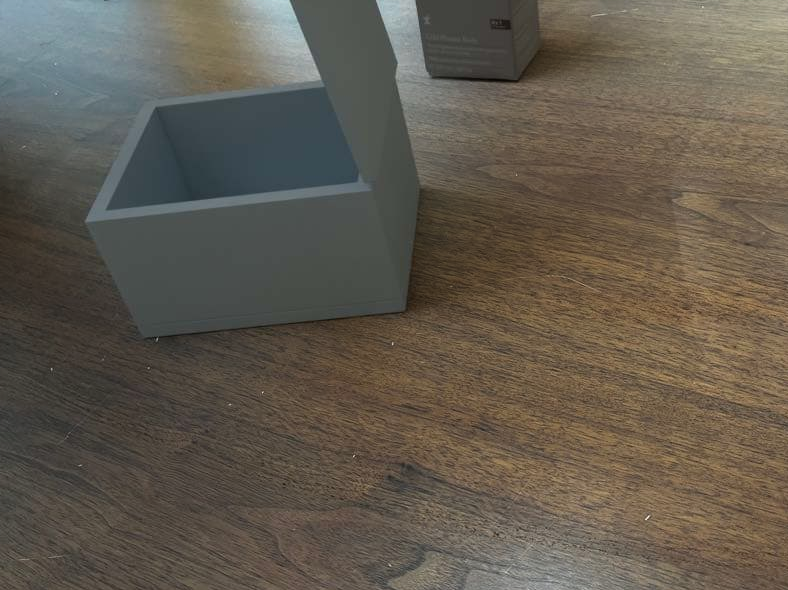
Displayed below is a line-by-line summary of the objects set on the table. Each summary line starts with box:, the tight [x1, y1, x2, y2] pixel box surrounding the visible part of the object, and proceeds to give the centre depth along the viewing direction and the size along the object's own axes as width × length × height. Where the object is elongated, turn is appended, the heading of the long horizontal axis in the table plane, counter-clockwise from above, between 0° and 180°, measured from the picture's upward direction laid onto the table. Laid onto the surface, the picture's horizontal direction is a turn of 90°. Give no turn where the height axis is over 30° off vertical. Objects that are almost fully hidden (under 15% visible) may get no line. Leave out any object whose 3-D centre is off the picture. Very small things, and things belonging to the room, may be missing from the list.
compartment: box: [84, 78, 422, 339], centre depth 70 cm, size 17×14×9 cm
